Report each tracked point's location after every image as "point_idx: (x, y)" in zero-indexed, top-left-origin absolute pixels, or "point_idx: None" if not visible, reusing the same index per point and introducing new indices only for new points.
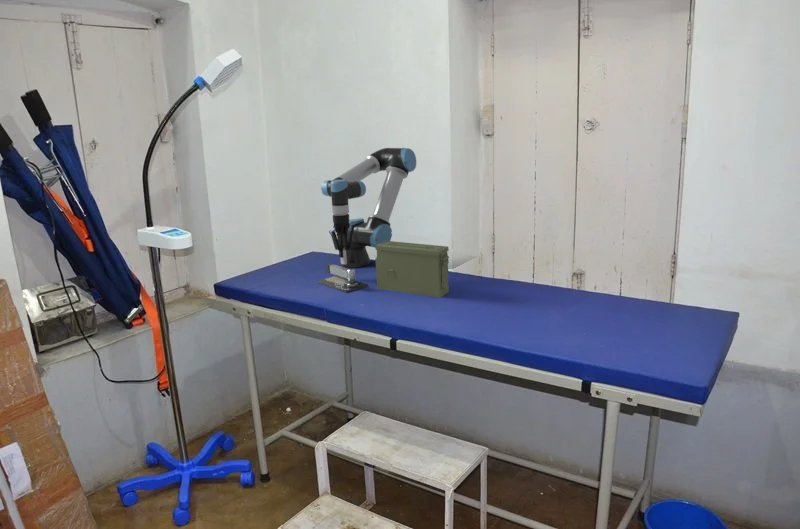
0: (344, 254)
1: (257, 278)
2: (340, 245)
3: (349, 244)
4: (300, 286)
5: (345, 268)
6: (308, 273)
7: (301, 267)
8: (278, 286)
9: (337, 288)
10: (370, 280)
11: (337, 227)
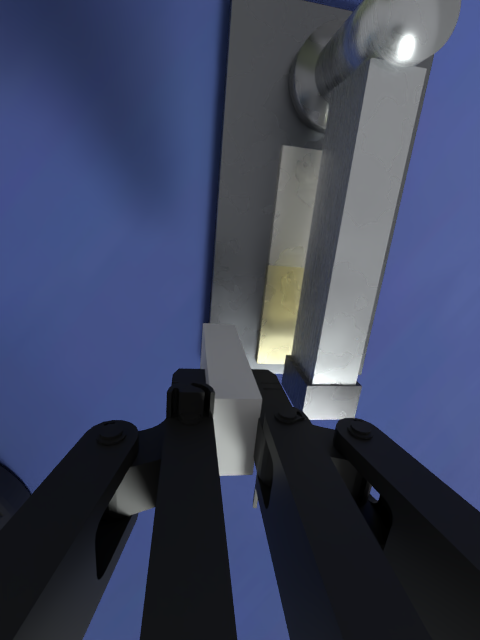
0: (238, 371)
1: None
2: (336, 488)
3: (104, 469)
4: (438, 389)
5: (363, 165)
6: (257, 536)
7: None
8: (476, 461)
9: (407, 155)
10: (102, 114)
11: None
